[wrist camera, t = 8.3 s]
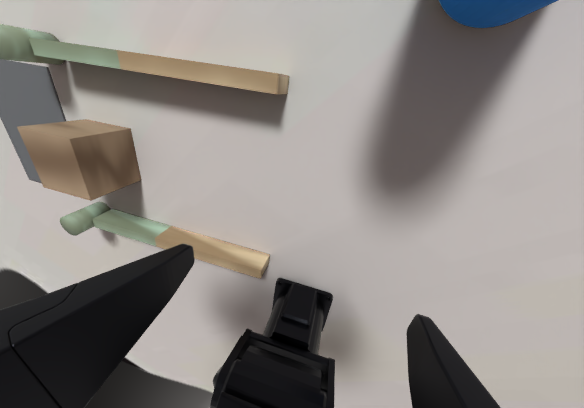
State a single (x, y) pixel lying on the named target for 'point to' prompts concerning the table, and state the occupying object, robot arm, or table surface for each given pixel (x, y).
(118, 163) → the block
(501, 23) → the beverage can
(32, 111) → the pit mat
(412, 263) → the table surface
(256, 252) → the lane walls
